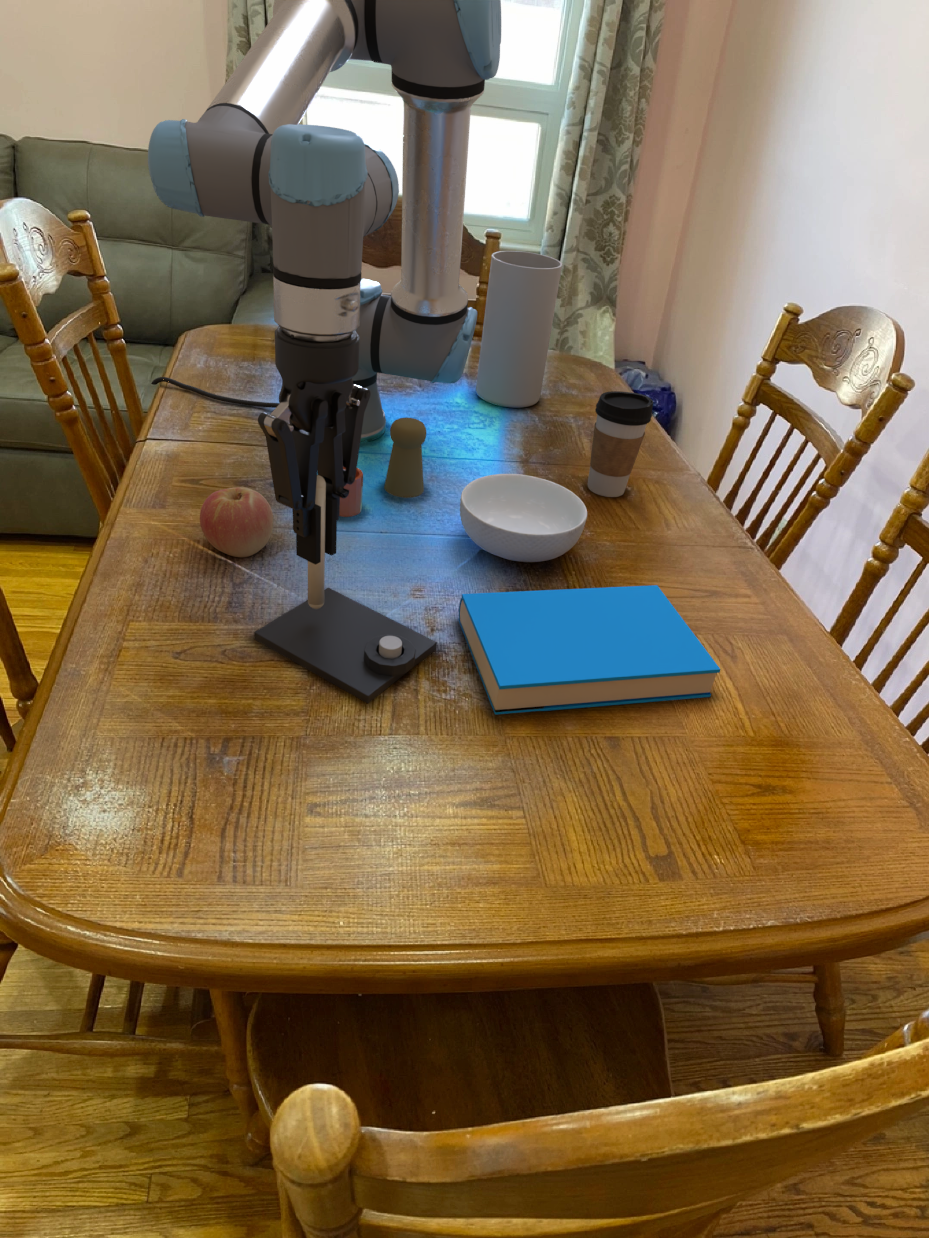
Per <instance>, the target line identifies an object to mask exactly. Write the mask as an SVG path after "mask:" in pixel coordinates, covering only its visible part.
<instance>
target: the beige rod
mask: <svg viewBox="0 0 929 1238" xmlns="http://www.w3.org/2000/svg"><path fill="white" fill-rule="evenodd" d="M315 504H316V505H319V506H321V562H320V563H318V564H316V565H315V564H313V563H311V562H309V561H307V600H308V604H309V606H310V607H311V608H314V609H319V608H321V607H322V606H323V604H324V594H325V589H326V588H325V587H326V585H325V581H326V580H325V579H326V553H325V509H326V482H325V480H324V478H323V477H322V476H320V475H318V474H317V483H316V497H315Z"/></svg>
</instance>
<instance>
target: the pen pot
mask: <svg viewBox="0 0 929 1238" xmlns="http://www.w3.org/2000/svg"><path fill="white" fill-rule="evenodd" d="M343 469H344V470H346V468H345V467H343ZM344 488H345V489H347V490H349V495H348V496H347V497H346V498H341V497H340V506H339V507H340V510H339V511H340V513H339V517H340V518H341V517H342V518H343V517H344V518H349V517H355V516H357V515H360V514H361V512H362V510H363V492H364V491H363V490H364V472H363V470H362V469H360V468H359V467H357V470H356V477H355V481H354V483H353V484H351V485H349V484H346V485H345V486H344Z"/></svg>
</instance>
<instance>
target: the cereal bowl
mask: <svg viewBox="0 0 929 1238" xmlns="http://www.w3.org/2000/svg"><path fill="white" fill-rule="evenodd" d="M459 517H460V522H461V525H462V527H463V530H464V533H466V534H467V537H469V538H470V540H471V541H472V542H473V543H474V544H476V546H478V547H479V548H481V549H482V550H484V551H485V552H488V553H489V554H491V555H494V556H496V557H499V558H502V559H506V560H509V561H512V562H519V563H520V562H521V563H522V562H523V563H539V562H545V561H549V560H553V559H554V560H555V559H556V558H558V557H561V556H562V555H565V554H566V553H568V552H569V551H570V550H571V549H572V548H573V547H575V545H576V544H577V543H578V541H579V540H580V537H581V535H582V533H583V531H584V528H585V526H586V522H587V519H588V511H587V507H586V505H585V503H584V502H583V500H582V499H581V498H580V497H579V496H578V495H577V494H575V492H573V491H571V490H570V489H568V488H567V487H565V486H563V485H561V484H558V483H557V482H554V481H551V480H548V479H545V478H541V477H537V476H532V475H526V474H519V473H496V474H488V475H485V476H481V477H478V478H476V479H474V480H472V481H470V482H469V483H468V484H467V485H465V486H464V488H463V489H462V491H461V495H460V498H459Z"/></svg>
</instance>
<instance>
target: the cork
mask: <svg viewBox="0 0 929 1238" xmlns="http://www.w3.org/2000/svg"><path fill="white" fill-rule="evenodd" d="M389 436H390V440H391V441H392V448H391V451H390V456H389V461H388V466H387V471H386V476H385V481H384V491H385V492H386V493H388V494H389V495H391V496H394V497H397V498H405V499H408V498H409V499H411V498H416V497H419V496H421V495H422V494H423V493H424V492H425V486H424V467H423V450H422V449H423V446H422V445H423V444H424V443H425V441H426V439H427V427H426V426H425V424H424V422H423V421H421V420H419V419H417V418H414V417H399V418H396V419H395V420H394V421H393V422H392V423H391V425H390V428H389Z"/></svg>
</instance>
